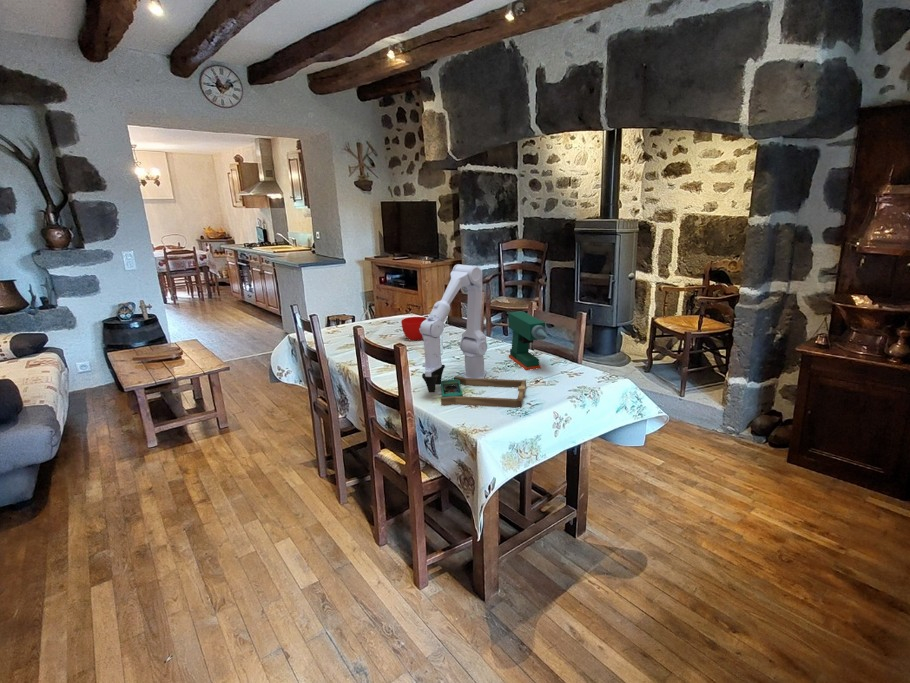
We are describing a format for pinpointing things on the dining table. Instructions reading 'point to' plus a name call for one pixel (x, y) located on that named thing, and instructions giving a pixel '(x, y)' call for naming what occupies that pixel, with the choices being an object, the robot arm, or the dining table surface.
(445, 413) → the dining table surface
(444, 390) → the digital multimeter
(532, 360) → the power tool
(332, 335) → the dining table surface
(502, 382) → the pocket
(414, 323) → the ceramic cup
